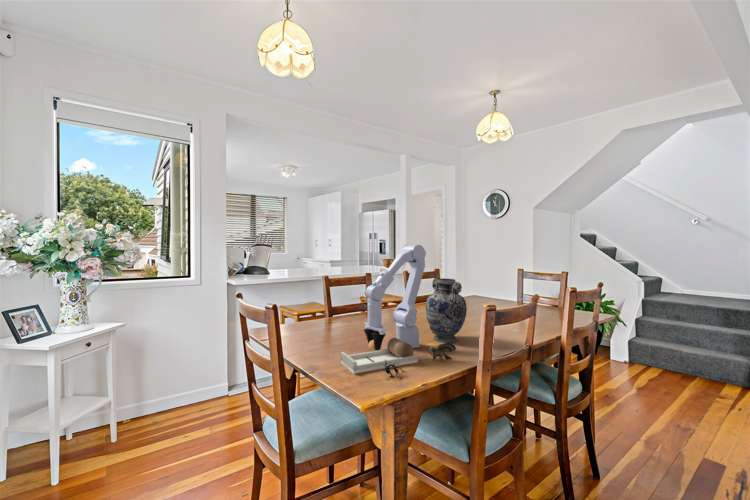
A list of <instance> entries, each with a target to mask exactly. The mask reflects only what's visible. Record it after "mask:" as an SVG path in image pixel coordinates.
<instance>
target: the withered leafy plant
mask: <svg viewBox="0 0 750 500" xmlns="http://www.w3.org/2000/svg"><path fill="white" fill-rule="evenodd" d="M428 350H429V352H430V353H432V354H430V356H432V357H433V359H432V361H433V362H434V361H436V359H437V358H438V357H440V359H442V360H444V362H446V360H447V359H446V357H448V358H450V359H452V358H453V357H452V356H450V355H448V354H447V353H454V352H456V350H457V347H456V345H455V344H454V343H452V342H449V343H446V342H444V343H441V344H438V346H437V348H435V347H434V346H430V347H428Z"/></svg>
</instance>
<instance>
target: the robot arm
mask: <svg viewBox="0 0 750 500" xmlns="http://www.w3.org/2000/svg"><path fill="white" fill-rule="evenodd" d="M426 256H427V252H426V250H425V248H424V246H423V245H422V244H404V245H402V247H401V248H400V249H399V250H398V254H397V256H396V257H395V258H394V259H393V262H392V263H391V264H390V265H389V267H388V269H387V270H382V271H381V272H379V273H378V276H377V278H376V279H375V280H374V281H372V283H371V285H369V286H367V287H366V290H365V291H364V295H365V297H366V300H367V301H366V302H367V321H365V322H364V328H365V329H363V332H364V334H365V337H366V339H367V344H368V345H369V342H370V341H371V340H374V348H375V350H382V345H383V341H384V338H385V336H386V328H384V327H383V324H382V315H383V313H382V305H383V304H382V303H383V302H382V299H384V298H385V293H386V290H387V289H388V288H389V287H390V285H391V284H392V283H393V281H394V276H395V275H396V273H398V271H399V270H400V269H401V267H403V265H404V264H406V263H407V264H409V266H410V267H411V269H410V272H409V276H408V280H407V282H406V287H405V290H404V294H403V296H402V297H403V298H402V301H401V302H400V303H399V304H398V305H397V307H396V309H395V310H394V312H393V314H392V319H393V321H394V322H395V330H396V331H395V332H396V333H395V334H396V336H395V338H397V339H399V340H401V341H404V342H406V343H408V344H410V345H411V346H412V347H413V349H414V348H415V349H416V348H420V347H421V345H420V331H419V328H418V326H417V325H416V323H417V320H418V319H417V318H418V317H417V314H418V310H417V308H416V306H415V304H416V301H417V297H418V293H419V290H420V286H421V284H422V279H423V275H424V271H425V268H426V261H425V258H426Z"/></svg>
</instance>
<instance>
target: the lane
mask: <svg viewBox="0 0 750 500" xmlns="http://www.w3.org/2000/svg"><path fill="white" fill-rule="evenodd" d="M385 360H386V361H387V365H386V367H387V366H388V365H390V364H392V365H394V364H395V363H396V364H395V366H394V367H399V366H400V367H401V366H404V365H405V366H406V365H409V364H415V363H418V354H413V355H412V356H406V357H401V358H399V357H398V356H396V355H394V354H392V353H391V352H389V351H388V348H386V349H380V350H379V351H366V352H359V353H353V354H349V355H348V354H347V353H346V352H344V351H342V352H340V364H342V365H343V366H344V367H345V368H346V369H347V370H349V371H350V372H351V373H352V374H355V375H356V374H361V373H366V372H373V371H377V370H383V369H385V364H386V361H385ZM398 363H399V364H398ZM389 368H393V367H392V366H390V367H389Z"/></svg>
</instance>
